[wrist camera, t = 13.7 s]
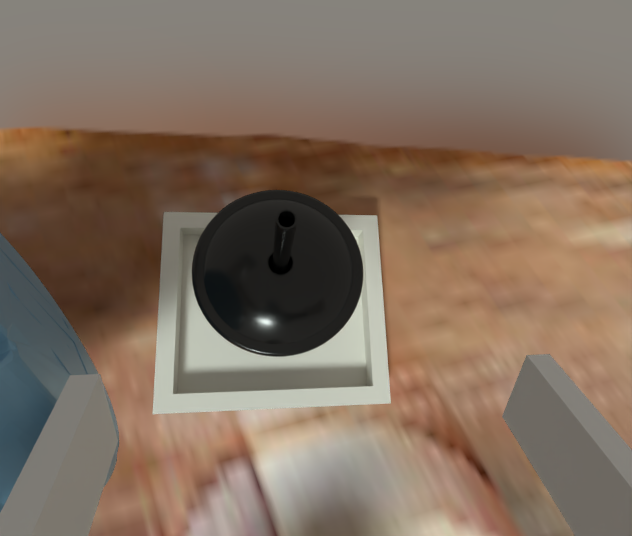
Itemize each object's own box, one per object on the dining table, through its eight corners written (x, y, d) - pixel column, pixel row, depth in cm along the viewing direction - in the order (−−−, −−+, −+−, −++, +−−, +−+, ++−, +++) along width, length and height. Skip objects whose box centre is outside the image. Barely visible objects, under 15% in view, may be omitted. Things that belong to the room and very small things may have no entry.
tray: (160, 411, 30) (152, 414, 28) (170, 223, 34) (163, 211, 31) (380, 401, 33) (390, 403, 30) (369, 226, 36) (377, 215, 34)
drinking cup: (216, 269, 33) (146, 115, 13) (315, 257, 34) (384, 99, 14) (227, 371, 31) (165, 366, 12) (331, 355, 32) (432, 326, 13)
